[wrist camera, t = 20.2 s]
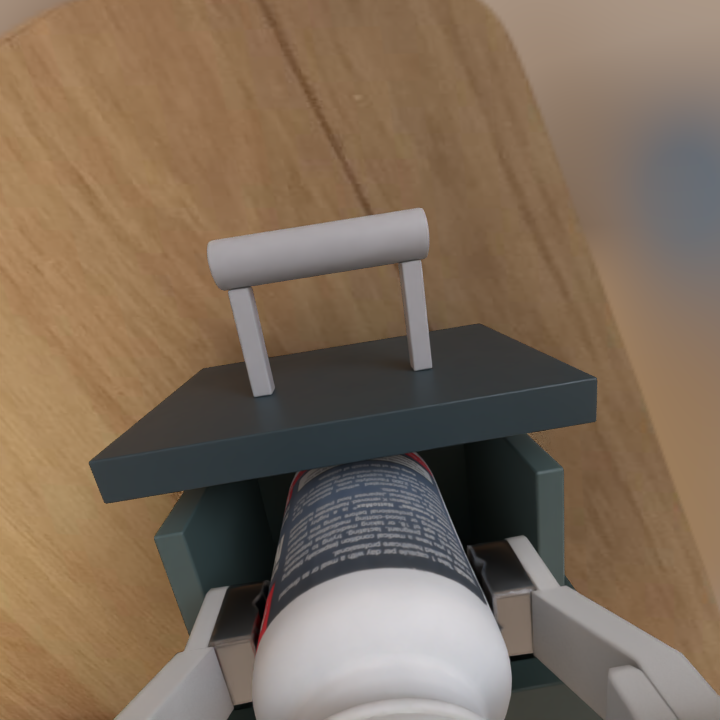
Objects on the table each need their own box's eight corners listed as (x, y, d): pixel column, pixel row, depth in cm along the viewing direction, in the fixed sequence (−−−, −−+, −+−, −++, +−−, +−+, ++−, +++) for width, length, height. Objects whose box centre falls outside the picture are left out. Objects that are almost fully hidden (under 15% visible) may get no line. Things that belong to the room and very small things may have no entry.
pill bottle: (264, 460, 13) (115, 877, 4) (410, 409, 13) (568, 735, 4) (321, 576, 14) (295, 1066, 6) (452, 533, 14) (635, 969, 5)
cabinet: (240, 520, 20) (152, 755, 10) (495, 477, 20) (634, 670, 10) (295, 714, 23) (268, 1011, 14) (507, 676, 24) (617, 945, 14)
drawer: (171, 258, 15) (6, 259, 8) (472, 210, 15) (602, 165, 8) (269, 606, 20) (227, 816, 12) (496, 567, 20) (590, 751, 13)
